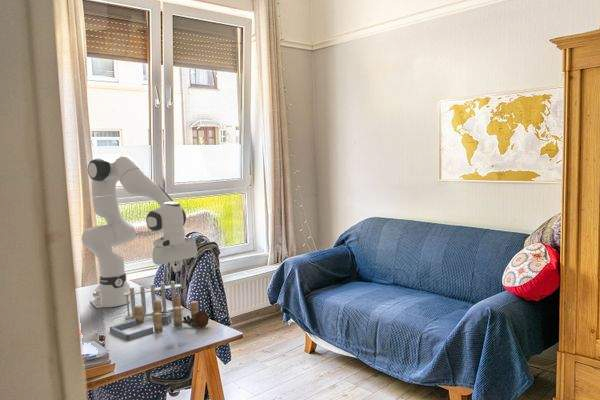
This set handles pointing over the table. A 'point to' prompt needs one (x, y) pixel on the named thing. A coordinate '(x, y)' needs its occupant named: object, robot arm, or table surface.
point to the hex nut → (165, 317)
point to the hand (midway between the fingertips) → (177, 270)
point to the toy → (198, 319)
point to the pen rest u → (118, 332)
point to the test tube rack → (152, 298)
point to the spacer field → (158, 310)
